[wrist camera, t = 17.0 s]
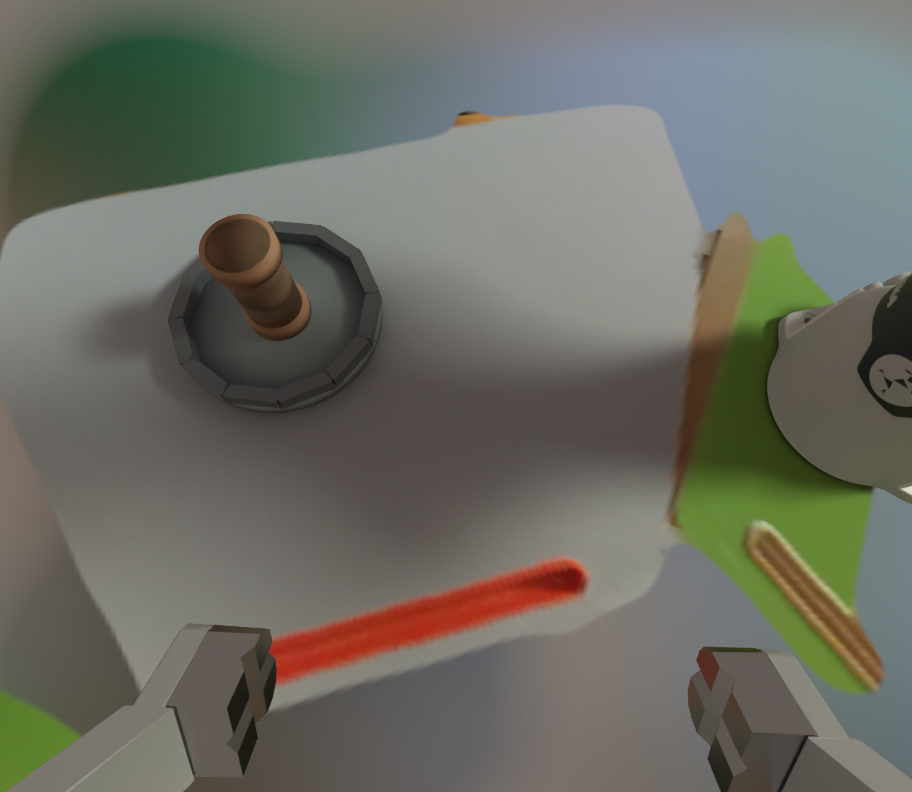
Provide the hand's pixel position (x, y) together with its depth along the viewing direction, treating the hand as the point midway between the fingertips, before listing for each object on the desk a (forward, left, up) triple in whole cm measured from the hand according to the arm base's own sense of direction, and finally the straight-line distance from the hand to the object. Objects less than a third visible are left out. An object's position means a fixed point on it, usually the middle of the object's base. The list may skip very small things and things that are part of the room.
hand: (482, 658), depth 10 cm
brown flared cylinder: (+5, -29, -30) cm, 43 cm away
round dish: (+5, -29, -31) cm, 43 cm away
